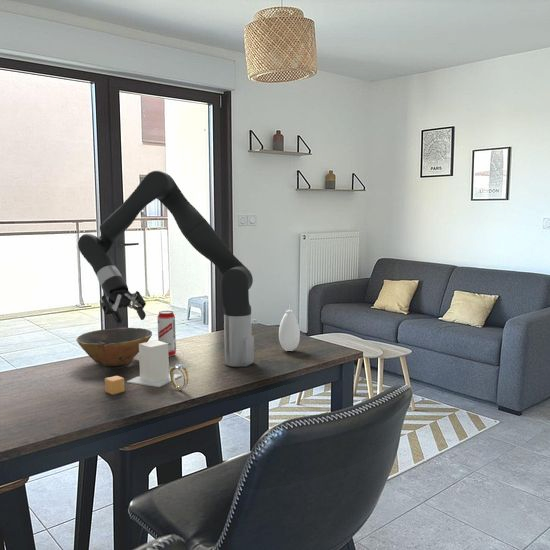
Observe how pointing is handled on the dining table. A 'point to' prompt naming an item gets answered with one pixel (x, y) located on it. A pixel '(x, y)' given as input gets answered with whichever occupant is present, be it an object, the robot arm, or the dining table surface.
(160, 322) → the beer can
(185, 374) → the ring
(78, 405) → the dining table surface
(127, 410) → the dining table surface
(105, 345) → the bowl
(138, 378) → the mat
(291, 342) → the sauce bottle
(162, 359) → the white rectangular block
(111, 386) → the fully visible orange block
